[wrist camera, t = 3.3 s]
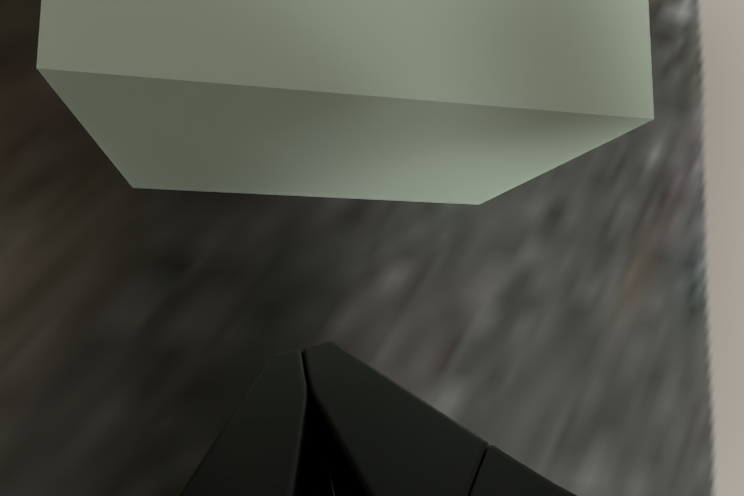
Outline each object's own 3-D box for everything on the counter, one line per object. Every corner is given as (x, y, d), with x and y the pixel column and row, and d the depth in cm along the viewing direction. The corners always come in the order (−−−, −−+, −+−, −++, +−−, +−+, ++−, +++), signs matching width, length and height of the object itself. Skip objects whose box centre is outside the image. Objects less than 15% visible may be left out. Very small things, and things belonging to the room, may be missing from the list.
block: (478, 205, 23) (653, 118, 13) (133, 188, 20) (36, 68, 11) (474, -26, 24) (635, -262, 14) (146, -68, 22) (70, -388, 12)
